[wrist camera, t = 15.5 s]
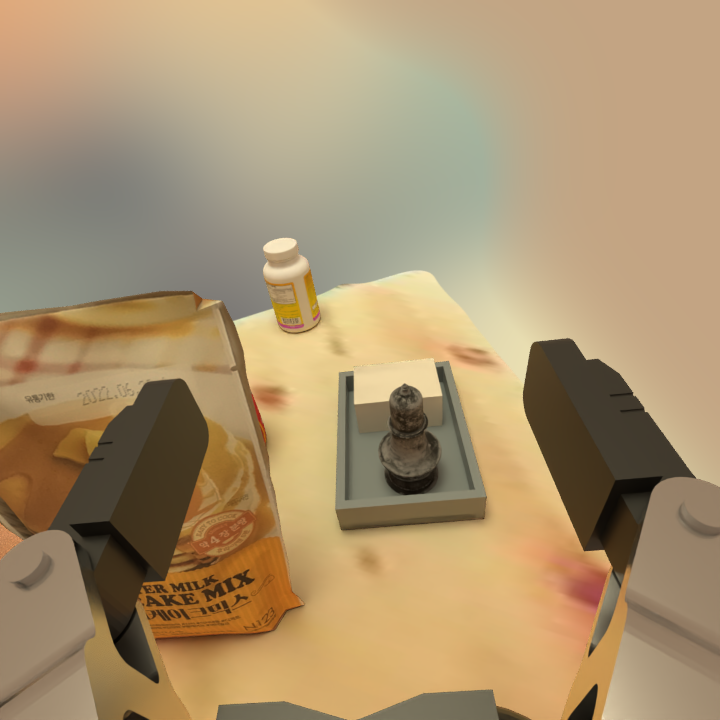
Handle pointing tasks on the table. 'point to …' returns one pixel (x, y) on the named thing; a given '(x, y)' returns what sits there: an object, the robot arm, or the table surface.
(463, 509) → the gray tray
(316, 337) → the table surface
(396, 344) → the table surface
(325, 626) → the table surface
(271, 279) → the supplement bottle
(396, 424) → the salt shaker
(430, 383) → the beige rectangular block
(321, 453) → the table surface
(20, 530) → the pancake mix bag
